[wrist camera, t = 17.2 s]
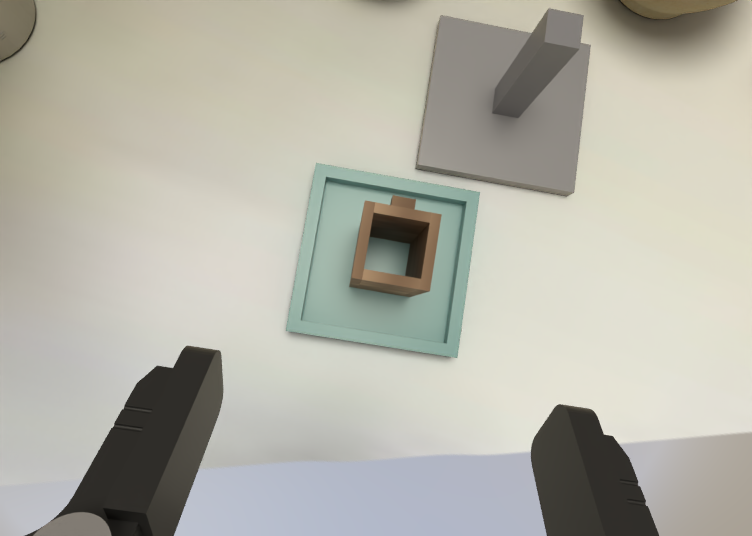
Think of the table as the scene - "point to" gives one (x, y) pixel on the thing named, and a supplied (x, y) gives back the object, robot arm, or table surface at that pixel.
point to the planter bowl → (671, 7)
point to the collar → (401, 227)
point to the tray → (380, 265)
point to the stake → (507, 103)
